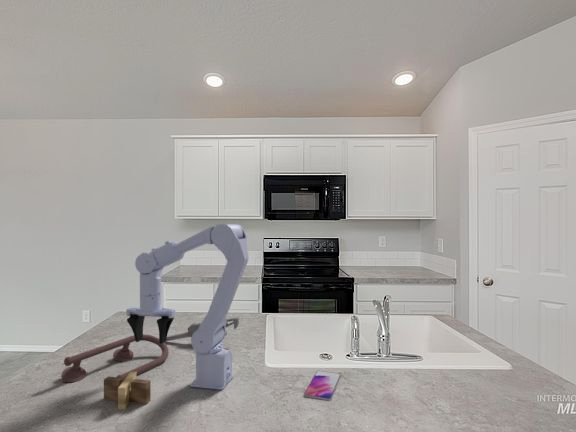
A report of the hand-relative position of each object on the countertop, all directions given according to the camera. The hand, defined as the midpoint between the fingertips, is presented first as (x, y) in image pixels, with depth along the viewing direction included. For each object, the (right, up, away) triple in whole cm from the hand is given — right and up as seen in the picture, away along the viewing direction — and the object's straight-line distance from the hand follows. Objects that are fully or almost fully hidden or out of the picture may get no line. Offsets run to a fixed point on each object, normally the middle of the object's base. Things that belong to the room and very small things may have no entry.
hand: (150, 341), depth 99 cm
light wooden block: (-1, -10, -13) cm, 16 cm away
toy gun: (+6, -11, +27) cm, 30 cm away
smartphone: (+49, -10, -7) cm, 50 cm away
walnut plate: (-1, -10, -13) cm, 16 cm away
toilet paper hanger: (-11, -11, +6) cm, 17 cm away
